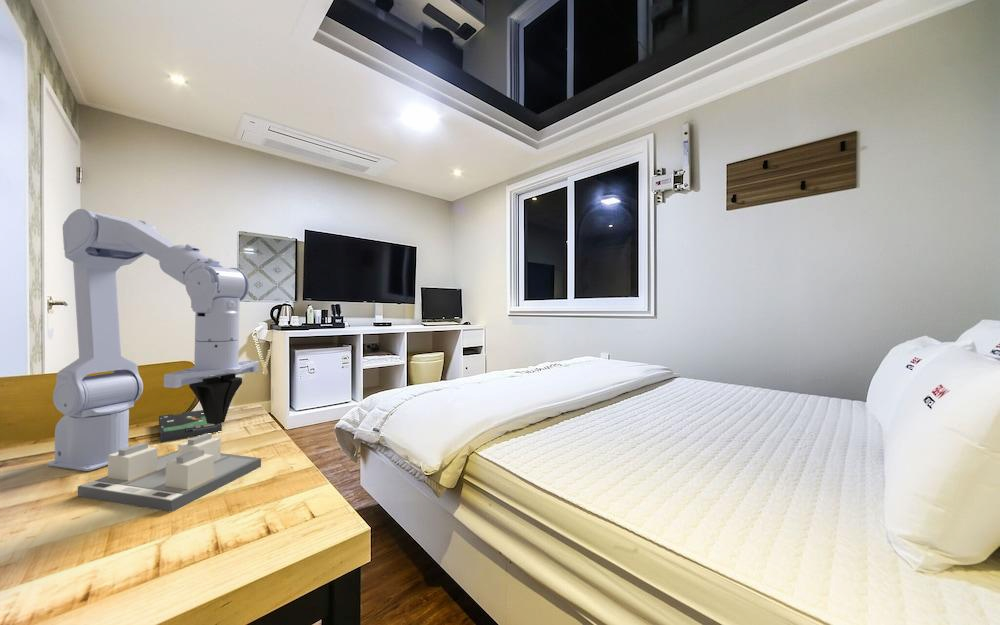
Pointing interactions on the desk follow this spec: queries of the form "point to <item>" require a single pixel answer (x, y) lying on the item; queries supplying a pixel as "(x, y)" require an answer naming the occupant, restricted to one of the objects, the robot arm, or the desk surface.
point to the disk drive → (185, 426)
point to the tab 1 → (132, 462)
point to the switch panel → (153, 489)
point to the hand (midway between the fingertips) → (215, 422)
